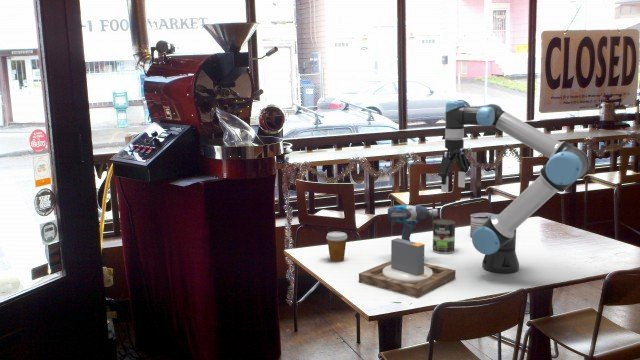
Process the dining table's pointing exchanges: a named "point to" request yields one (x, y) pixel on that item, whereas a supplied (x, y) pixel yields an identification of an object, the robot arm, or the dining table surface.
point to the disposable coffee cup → (336, 245)
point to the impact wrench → (409, 217)
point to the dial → (407, 262)
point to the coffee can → (443, 236)
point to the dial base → (415, 290)
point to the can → (478, 221)
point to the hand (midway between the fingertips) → (453, 189)
